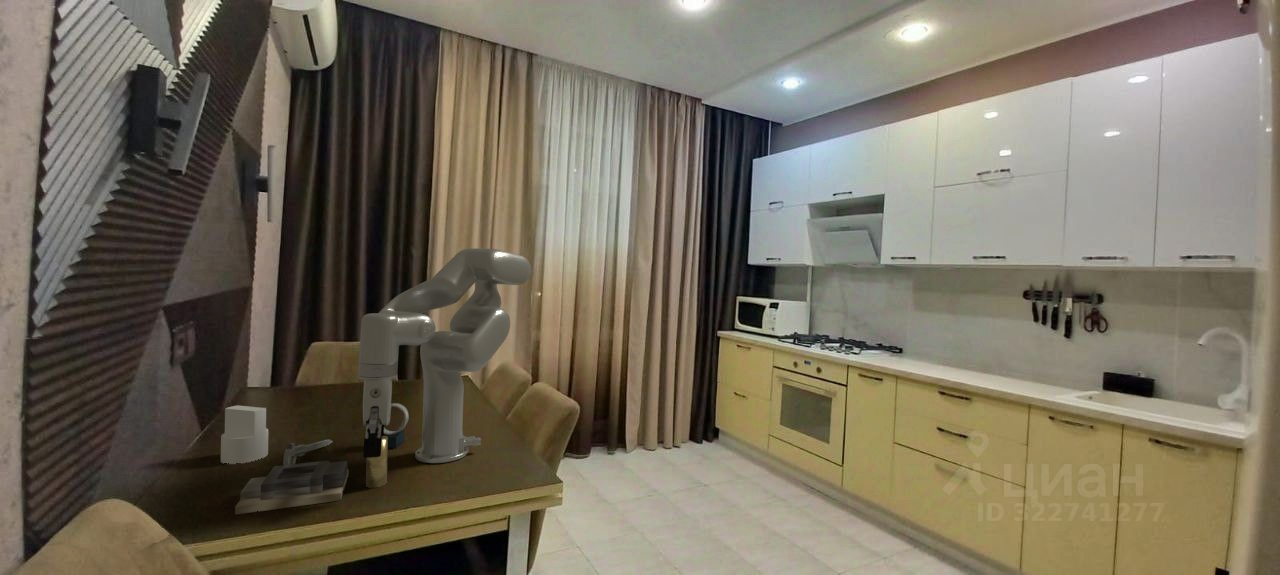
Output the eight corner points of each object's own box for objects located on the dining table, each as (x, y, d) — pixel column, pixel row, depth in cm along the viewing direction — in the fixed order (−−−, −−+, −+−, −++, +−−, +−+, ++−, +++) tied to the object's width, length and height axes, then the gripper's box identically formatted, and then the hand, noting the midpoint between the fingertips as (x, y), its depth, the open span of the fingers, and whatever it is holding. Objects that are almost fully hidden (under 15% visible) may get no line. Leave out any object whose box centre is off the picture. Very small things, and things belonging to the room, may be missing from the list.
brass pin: (387, 479, 109) (388, 435, 109) (386, 486, 106) (387, 440, 106) (366, 482, 108) (367, 436, 108) (365, 489, 104) (366, 442, 104)
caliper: (288, 473, 112) (288, 445, 112) (282, 473, 112) (283, 445, 112) (333, 443, 132) (333, 419, 132) (328, 443, 132) (329, 419, 132)
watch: (380, 441, 134) (381, 401, 134) (410, 441, 134) (411, 401, 134) (370, 448, 128) (371, 406, 128) (402, 448, 129) (403, 407, 129)
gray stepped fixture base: (348, 475, 111) (348, 456, 111) (340, 500, 99) (341, 478, 99) (255, 487, 103) (255, 465, 103) (235, 514, 92) (235, 490, 92)
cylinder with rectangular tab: (277, 452, 123) (278, 405, 123) (242, 465, 114) (243, 414, 114) (247, 449, 125) (248, 402, 125) (210, 462, 116) (211, 411, 116)
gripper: (396, 376, 100) (391, 461, 100) (398, 364, 116) (394, 437, 115) (354, 377, 97) (348, 464, 96) (362, 365, 112) (357, 439, 112)
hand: (373, 449), depth 106 cm, fingers open, 9 cm apart
